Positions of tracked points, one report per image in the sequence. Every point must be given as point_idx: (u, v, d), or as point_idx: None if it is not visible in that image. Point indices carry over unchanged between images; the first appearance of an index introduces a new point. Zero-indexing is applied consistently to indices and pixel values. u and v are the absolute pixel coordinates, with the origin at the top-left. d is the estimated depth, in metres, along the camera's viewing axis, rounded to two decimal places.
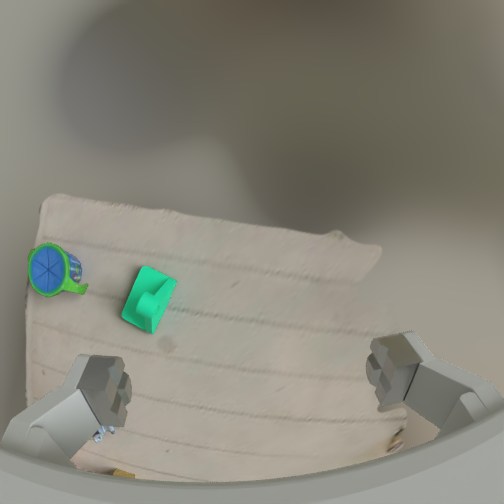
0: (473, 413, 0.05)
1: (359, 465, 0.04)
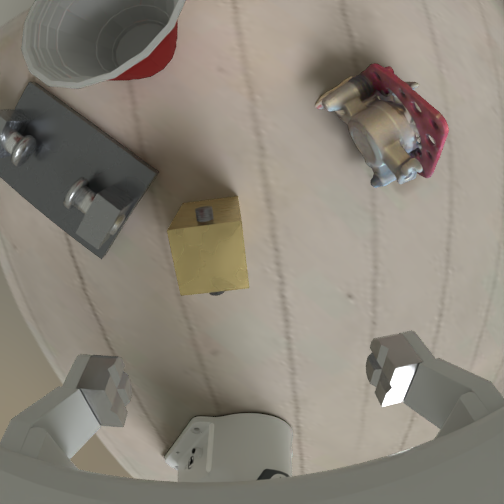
0: (473, 413, 0.05)
1: (359, 465, 0.04)
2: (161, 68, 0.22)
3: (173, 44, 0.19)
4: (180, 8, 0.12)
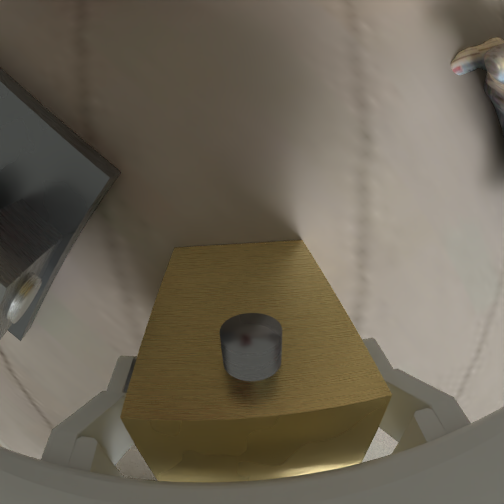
0: (427, 432, 0.05)
1: (359, 465, 0.04)
2: None
3: None
4: None
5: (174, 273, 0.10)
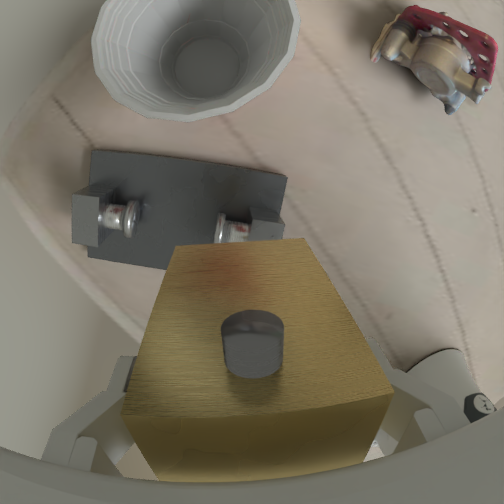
0: (427, 432, 0.05)
1: (359, 465, 0.04)
2: None
3: None
4: (294, 3, 0.12)
5: (175, 271, 0.10)
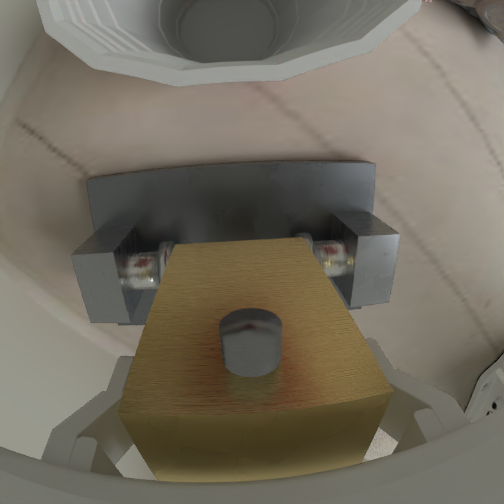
0: (427, 432, 0.05)
1: (359, 465, 0.04)
2: None
3: None
4: None
5: (174, 269, 0.10)
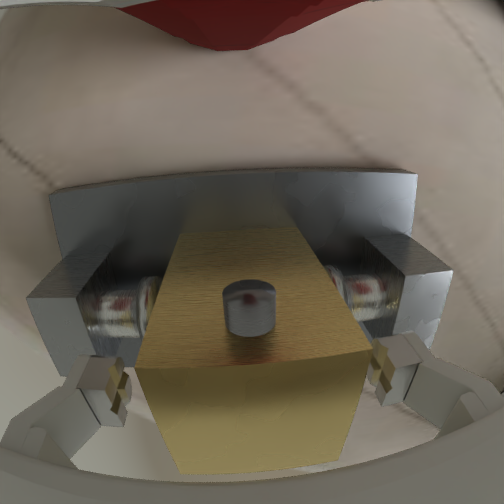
0: (473, 413, 0.05)
1: (359, 465, 0.04)
2: None
3: None
4: None
5: (180, 254, 0.11)
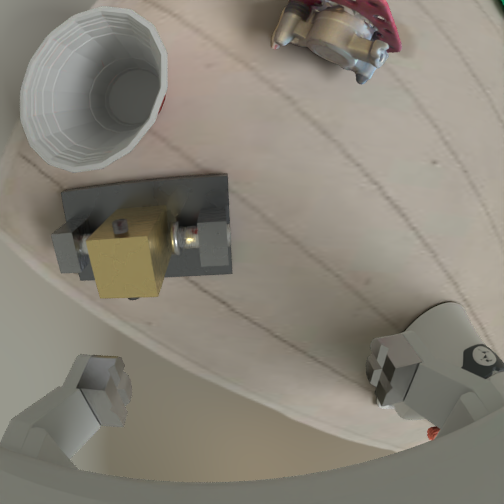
0: (473, 413, 0.05)
1: (359, 465, 0.04)
2: (164, 98, 0.24)
3: None
4: (159, 38, 0.14)
5: (112, 216, 0.26)
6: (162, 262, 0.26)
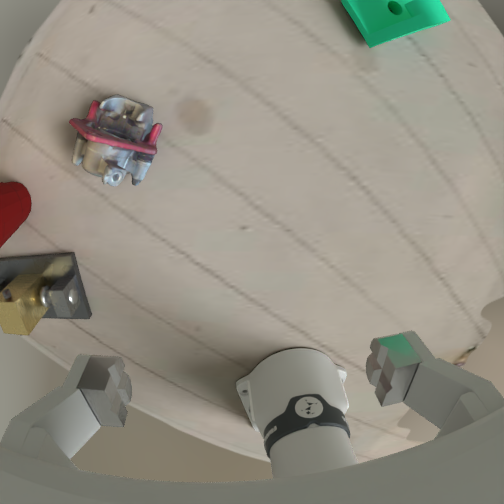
0: (473, 413, 0.05)
1: (359, 465, 0.04)
2: (27, 206, 0.33)
3: (15, 197, 0.29)
4: None
5: (12, 281, 0.35)
6: (36, 313, 0.34)
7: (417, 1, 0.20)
